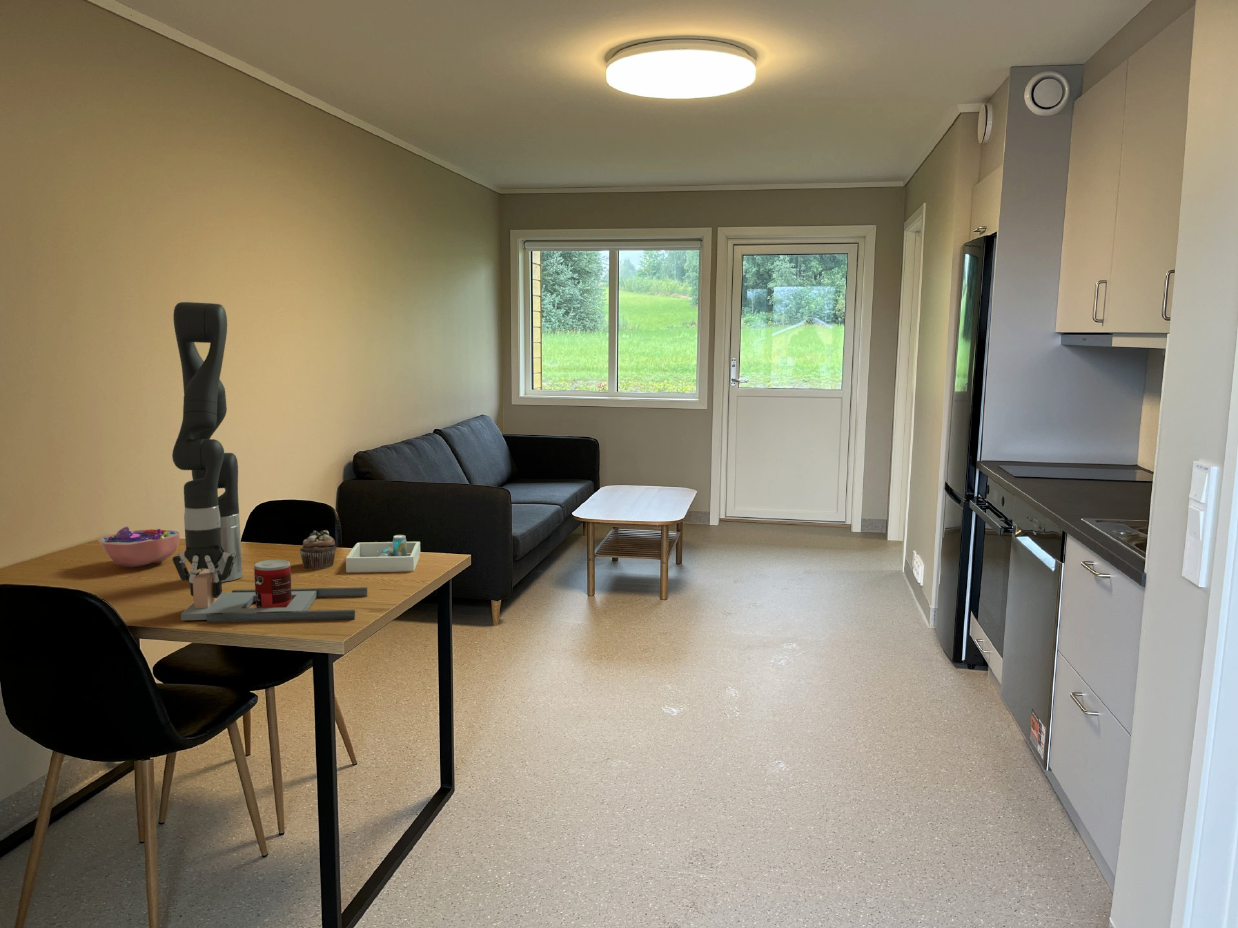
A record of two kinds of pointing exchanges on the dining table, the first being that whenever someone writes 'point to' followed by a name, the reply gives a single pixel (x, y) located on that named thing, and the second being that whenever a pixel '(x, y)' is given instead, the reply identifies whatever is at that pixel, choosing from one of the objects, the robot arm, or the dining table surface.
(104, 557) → the dining table surface
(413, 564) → the white shallow tray
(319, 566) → the cupcake
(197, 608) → the grey piece
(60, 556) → the dining table surface
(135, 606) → the dining table surface
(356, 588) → the guide rails
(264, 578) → the canned food
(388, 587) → the dining table surface
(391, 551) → the beverage can
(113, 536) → the cell model
